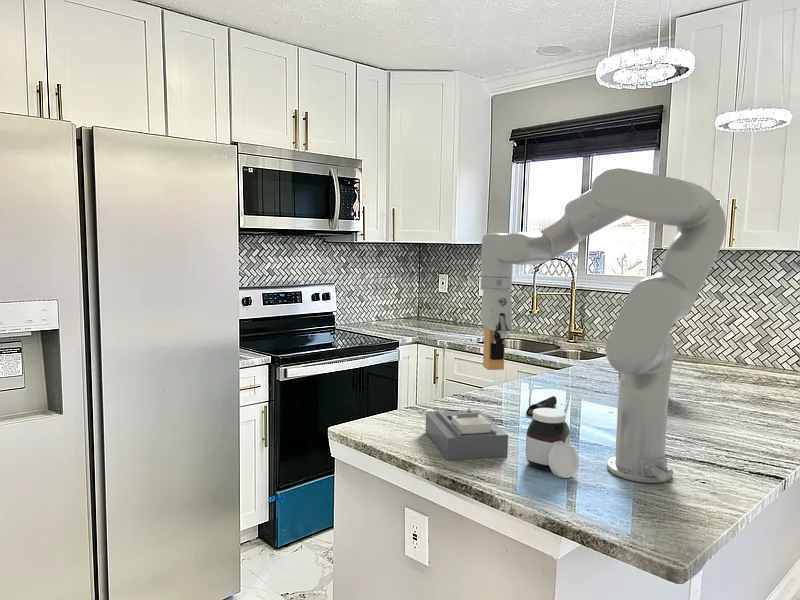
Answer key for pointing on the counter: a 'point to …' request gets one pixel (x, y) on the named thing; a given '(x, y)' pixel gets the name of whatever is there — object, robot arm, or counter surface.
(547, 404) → the electric trimmer
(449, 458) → the socket
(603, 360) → the counter surface
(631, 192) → the robot arm
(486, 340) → the plug
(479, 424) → the shutter
